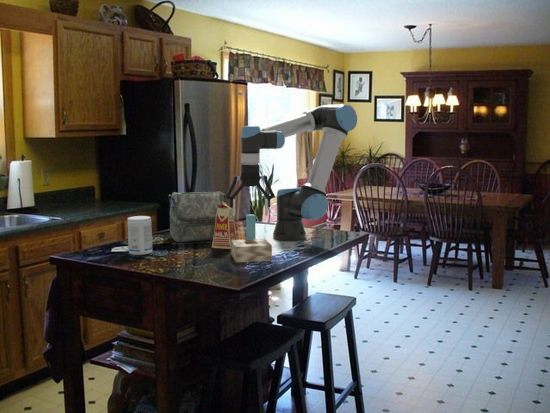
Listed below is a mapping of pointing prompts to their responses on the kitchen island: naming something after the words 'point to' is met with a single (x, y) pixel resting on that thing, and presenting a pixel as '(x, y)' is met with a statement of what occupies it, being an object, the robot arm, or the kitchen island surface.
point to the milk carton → (224, 227)
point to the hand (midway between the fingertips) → (250, 215)
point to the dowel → (250, 227)
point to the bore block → (251, 250)
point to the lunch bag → (194, 215)
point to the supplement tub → (139, 235)
